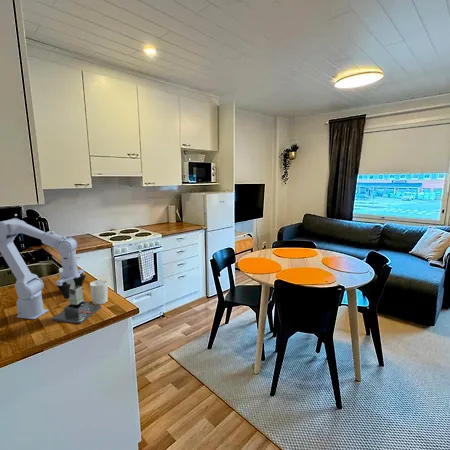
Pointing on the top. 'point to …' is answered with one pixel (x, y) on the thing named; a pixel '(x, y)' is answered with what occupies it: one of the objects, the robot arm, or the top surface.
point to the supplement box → (62, 276)
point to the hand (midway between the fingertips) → (73, 294)
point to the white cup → (99, 291)
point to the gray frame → (76, 312)
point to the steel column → (75, 295)
